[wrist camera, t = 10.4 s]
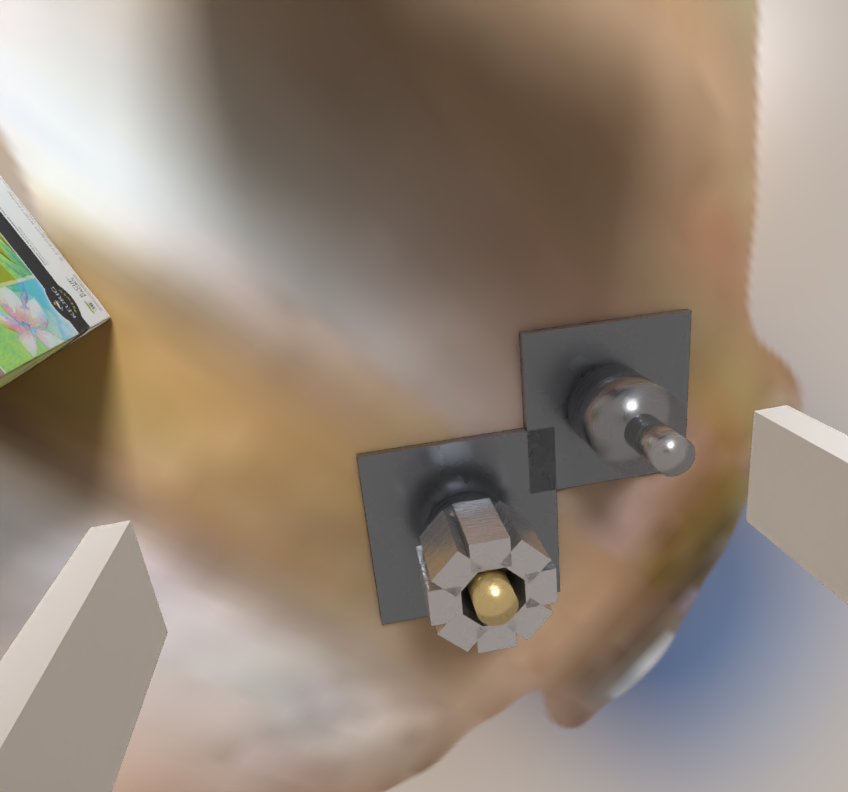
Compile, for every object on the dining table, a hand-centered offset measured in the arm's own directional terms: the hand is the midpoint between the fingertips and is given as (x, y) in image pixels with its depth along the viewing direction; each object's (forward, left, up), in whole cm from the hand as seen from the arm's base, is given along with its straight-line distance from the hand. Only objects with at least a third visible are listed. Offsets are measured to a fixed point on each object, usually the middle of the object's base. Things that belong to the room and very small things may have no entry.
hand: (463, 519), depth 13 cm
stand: (+10, +16, -28) cm, 34 cm away
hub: (+18, +5, -28) cm, 34 cm away
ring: (+18, +5, -25) cm, 31 cm away
